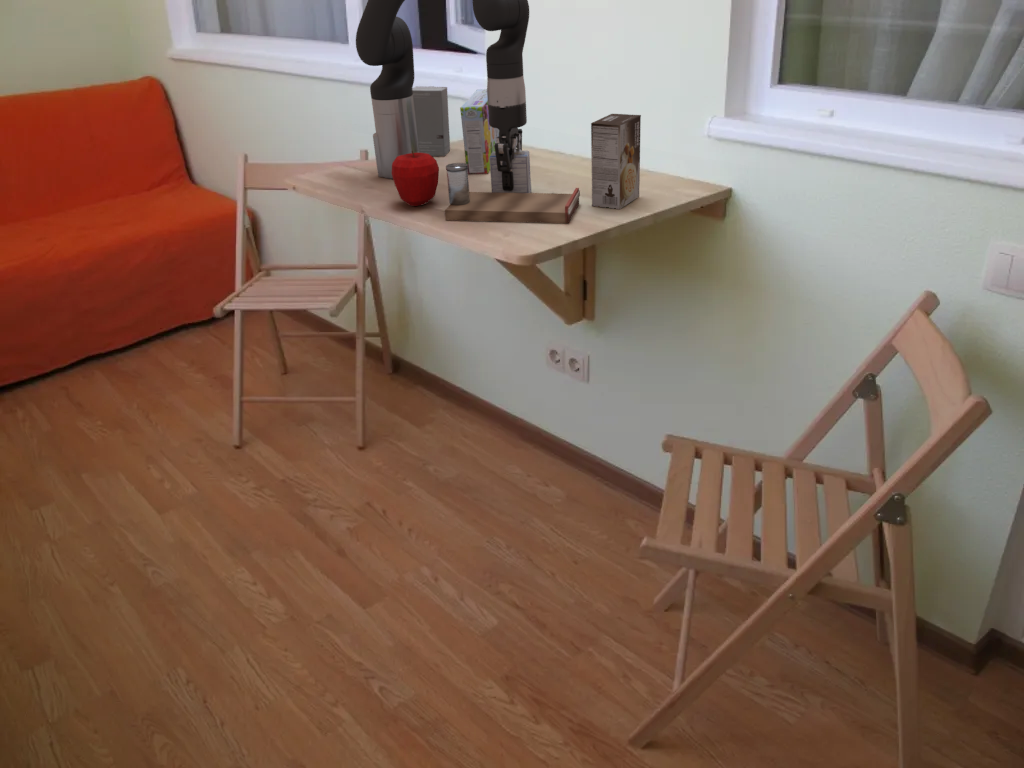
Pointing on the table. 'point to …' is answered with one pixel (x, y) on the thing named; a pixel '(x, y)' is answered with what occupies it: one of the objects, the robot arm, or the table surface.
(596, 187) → the coffee box
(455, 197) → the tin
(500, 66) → the robot arm
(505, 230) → the table surface
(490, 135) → the snack box
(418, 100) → the skincare box
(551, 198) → the brown wooden board
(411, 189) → the apple
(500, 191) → the medicine box
